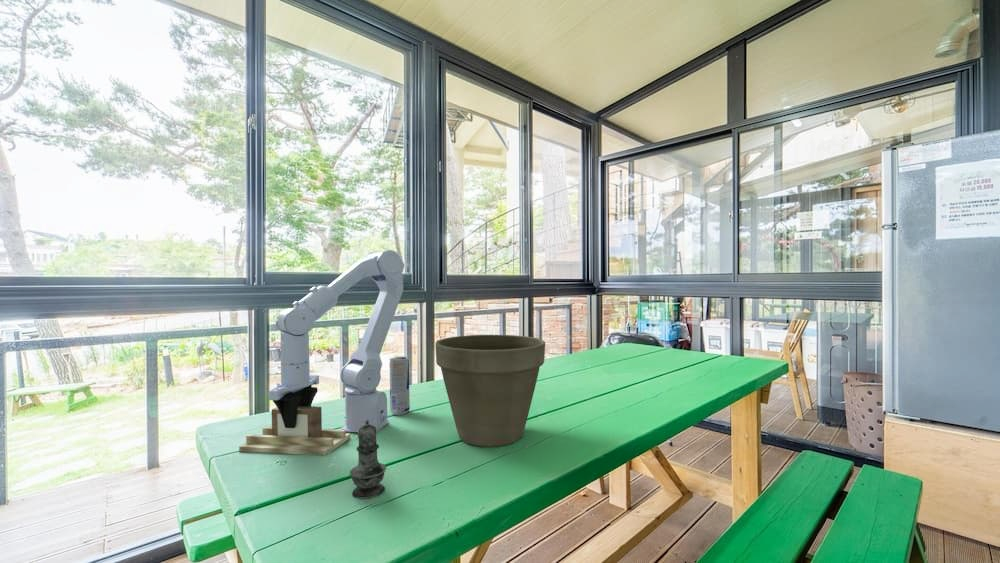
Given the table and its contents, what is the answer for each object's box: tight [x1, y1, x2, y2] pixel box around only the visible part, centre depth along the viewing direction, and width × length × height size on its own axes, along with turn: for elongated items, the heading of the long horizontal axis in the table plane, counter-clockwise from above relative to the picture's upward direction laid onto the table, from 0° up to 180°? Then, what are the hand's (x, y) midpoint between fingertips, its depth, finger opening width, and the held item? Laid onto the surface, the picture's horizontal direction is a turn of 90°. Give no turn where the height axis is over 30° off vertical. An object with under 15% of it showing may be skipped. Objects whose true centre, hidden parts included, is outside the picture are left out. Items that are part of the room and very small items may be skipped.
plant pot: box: [435, 334, 546, 448], centre depth 96 cm, size 25×25×22 cm
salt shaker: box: [349, 420, 387, 500], centre depth 71 cm, size 6×6×12 cm
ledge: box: [238, 426, 351, 456], centre depth 93 cm, size 20×10×2 cm, turn 80°
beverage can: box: [389, 356, 411, 416], centre depth 115 cm, size 5×5×15 cm
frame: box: [271, 405, 323, 438], centre depth 93 cm, size 10×3×7 cm, turn 81°
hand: (296, 424), depth 93 cm, fingers open, 4 cm apart
